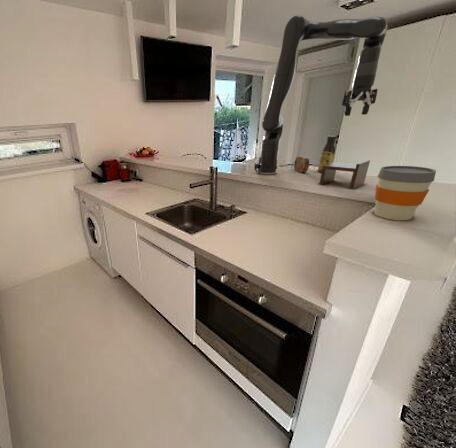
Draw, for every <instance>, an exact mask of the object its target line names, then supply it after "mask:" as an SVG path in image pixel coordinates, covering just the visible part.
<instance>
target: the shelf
mask: <svg viewBox="0 0 456 448" xmlns="http://www.w3.org/2000/svg"><path fill="white" fill-rule="evenodd" d="M370 162H371V160H370V159H367V160H364V161H361V162H358V163H350V162H338V161H337V162H336V161H333V162H332V163H330V164H327V165H324V166H323V168H322V172H320V179H319V184H318V185H325V184H329V183H332V182H333V181H335V177H336V173H337V172H336V171H338V172H339V171H340V172H348V173H349V172H351V173H352V176H351V180H350V184H349V189H350V190H354V189H357V188H358V187H360V186H363V185H365V181H366V177H367V174H368V169H369V167H370Z"/></svg>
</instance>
